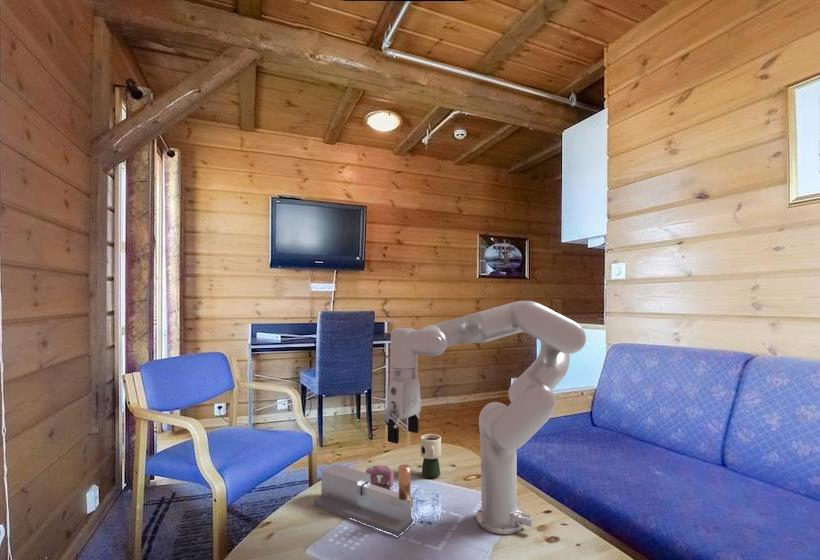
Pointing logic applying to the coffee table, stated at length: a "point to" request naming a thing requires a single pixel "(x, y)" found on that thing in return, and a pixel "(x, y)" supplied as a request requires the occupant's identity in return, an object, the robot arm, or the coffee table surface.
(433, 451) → the character mug
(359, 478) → the block
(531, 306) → the robot arm
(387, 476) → the video game controller
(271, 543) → the coffee table surface
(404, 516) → the base board
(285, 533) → the coffee table surface
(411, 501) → the shaft
